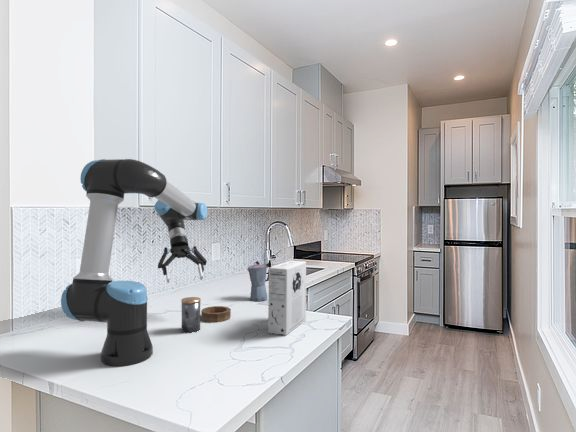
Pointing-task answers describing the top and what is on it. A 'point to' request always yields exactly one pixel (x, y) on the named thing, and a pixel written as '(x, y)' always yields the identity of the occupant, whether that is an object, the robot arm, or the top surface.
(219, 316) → the wooden bowl
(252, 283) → the moka pot
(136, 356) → the robot arm
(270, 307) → the cereal box
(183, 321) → the canister
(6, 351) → the top surface
